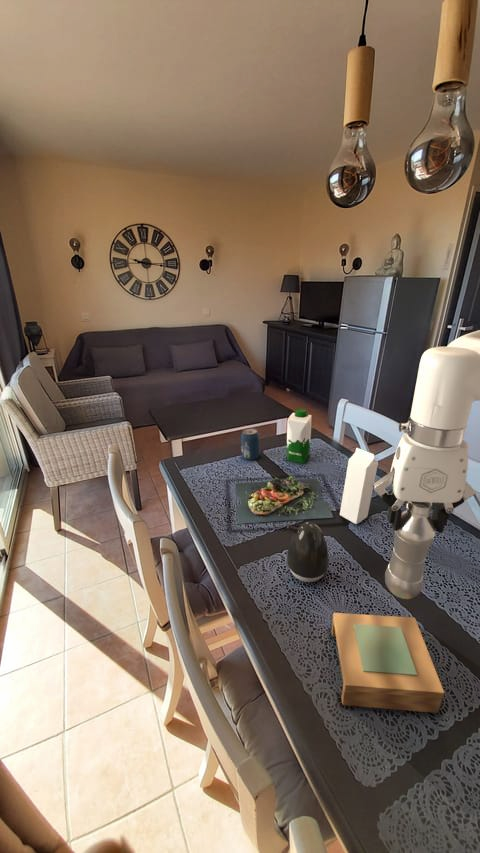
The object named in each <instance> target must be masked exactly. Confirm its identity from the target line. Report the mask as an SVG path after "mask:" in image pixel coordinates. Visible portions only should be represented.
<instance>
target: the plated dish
mask: <svg viewBox="0 0 480 853" xmlns="http://www.w3.org/2000/svg"><path fill="white" fill-rule="evenodd" d="M234 486H235V497H236V498H238V499H239V500H240V504H239V505H238V507H236V524H237V525H248V524H250V525H251V524H264V523H268V524H269V523H280V522H282V523H283V522H284V523H285V522H296V521H298V522H299V521H313V520H331V519H334V515H333V513H332V511H331V508H330V506H329V503H328V502H326V501H324V500H323V499H322V498H321V494H322V492H323V490H322V488H321V486H320V483H319V481H318V479H317V478H305V479H304V478H303V479H297V476H288V477H286V478H284V477H282V479H281V478H279V477H277V476H275V477H274V478H273V479H271V480H268V481H267V480H265V481H250V482H248V481H247V482H236V483H234Z"/></svg>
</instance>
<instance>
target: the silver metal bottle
mask: <svg viewBox="0 0 480 853" xmlns="http://www.w3.org/2000/svg"><path fill="white" fill-rule="evenodd" d="M432 508H433V503H430V502H409V501H407V504H406V506H405V509H406V510H404V511H402V515H401V521H400V526H399V530H398V531H394V542H393V550H392V554H391V557H390V559H389V563H388V565H387V566H386V569H385V572H384V582H385V586H386V587H387V589H388V590H389V591H390V593H392V595H394V596H395V597H397V598H400V599H403V600H411V599H414V598H416V597H418V596H419V595H420V593H421V591H422V590H423V587H424V569H425V568H424V567H425V562H426V558H427V555H428V553H429V550H430V547H431V546H432V543H433V541H434V539H435V536H436V529H435V526H434V523H433V521H432V517H431V516H432V513H433V511H432Z"/></svg>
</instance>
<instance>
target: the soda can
mask: <svg viewBox="0 0 480 853" xmlns="http://www.w3.org/2000/svg"><path fill="white" fill-rule="evenodd" d="M240 437H241V442H240V443H241V457H242V459H243V460H245V461H249V462H250V461H255V460H257V459H258V458H259V456H260V434H259V432H258V430H257V429H256V428H253V427H247V428H244V429H242V433H241V436H240Z"/></svg>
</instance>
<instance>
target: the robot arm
mask: <svg viewBox="0 0 480 853" xmlns="http://www.w3.org/2000/svg"><path fill="white" fill-rule="evenodd" d="M418 365H419V366H418V369H417V377H416V383H415V388H414V394H413V400H412V404H411V411H410V415H409V416H408V418H407V419H408V420H407V421H406V422H403V423H402V422H399V424H398V431H399V433H402V436H401V438H400V441H399V442H398V445H397V447H396V450H395V454H394V455H393V459H392V463H391V468H390V472H388V473H386V474H385V475H384V476H383V477H381V478H379V479H378V480H377V481H376V480H375V481H374V483H373V485H372V486H373V490H374V492H375V493H376V494H377V495H378V496H379V497H380V498H381V499H382V500H383V502H384V503H385V504H386V505H388V510H387V514H386V515H387V516H386V518H387V522H388V524H390V525H391V527H392V530H393V532H395V531H398V530H399V526H400V521H401V515H402V513H403V511H402V510H401V507H402V506H403V505H404V504H405V502H408V501H409V502H430V503H432V504H433V503H435V504H434V506H433V511H432V514H431V519H432V521H433V523H434V526H435V532H436V533H439V534H443V532H444V529H445V526H447V524H448V519H449V516H450V514H453V513H454V512H455V509H456V508H458V507H459V506H461V505H463V504H464V502H465V501H466V500H467V501H468V500H469V499H470V498H473V496H475V495H476V493H477V491H476V490H475V489H474V488H473V486H472V485H471V484H470V483H469V482H468V481H467V476H468V468H469V443H468V442H467V441H466V440H465V438H464V437H465V434H466V430H467V426H468V422H469V418H470V414H471V410H472V406H473V403H474V402H477V401H479V402H480V329H478V330H476V331H472V332H470V333H466V334H463V335H461V336H459V337H457V338H455V339H454V340H452V341H451V342H450V343H449V344H447V346H435V347H434V346H433V347H430V348H428V349H427V350H425V351H424V352H423V353H422V355H421V358H420V361H419V364H418ZM390 486H391V487H392V490H391V492H389V491H388V490H387V488H388V487H390Z"/></svg>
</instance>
